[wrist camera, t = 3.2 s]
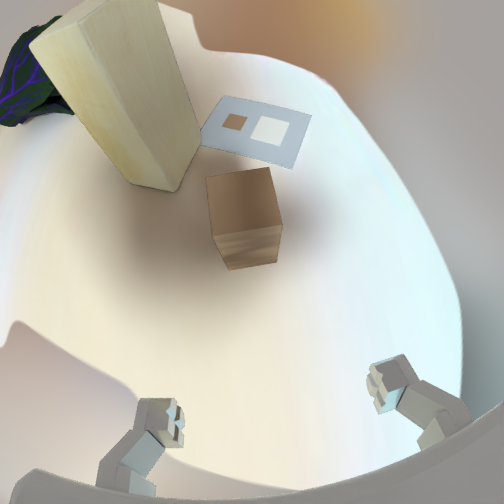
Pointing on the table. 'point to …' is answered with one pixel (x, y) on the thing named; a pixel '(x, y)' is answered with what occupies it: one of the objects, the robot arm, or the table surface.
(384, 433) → the table surface
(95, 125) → the tall cream box
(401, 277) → the table surface
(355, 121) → the table surface
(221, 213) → the walnut block
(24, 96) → the decorative plant
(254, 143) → the page
